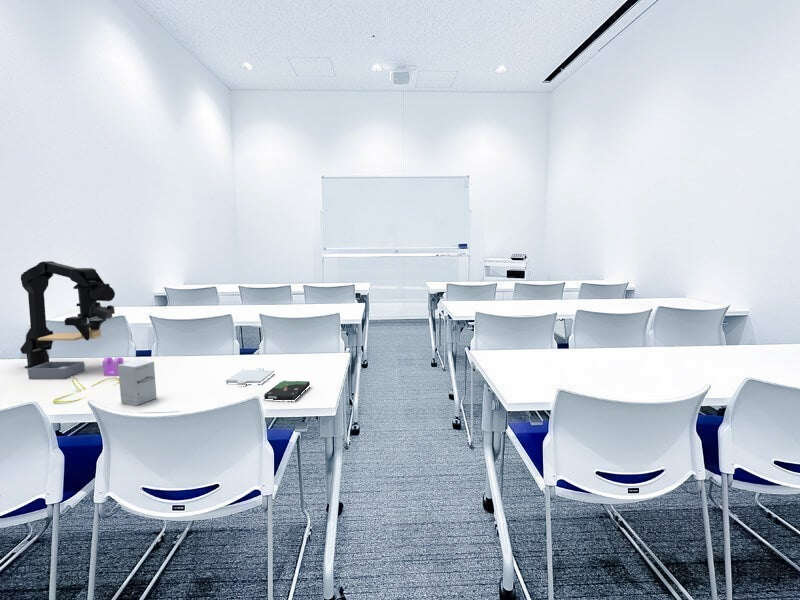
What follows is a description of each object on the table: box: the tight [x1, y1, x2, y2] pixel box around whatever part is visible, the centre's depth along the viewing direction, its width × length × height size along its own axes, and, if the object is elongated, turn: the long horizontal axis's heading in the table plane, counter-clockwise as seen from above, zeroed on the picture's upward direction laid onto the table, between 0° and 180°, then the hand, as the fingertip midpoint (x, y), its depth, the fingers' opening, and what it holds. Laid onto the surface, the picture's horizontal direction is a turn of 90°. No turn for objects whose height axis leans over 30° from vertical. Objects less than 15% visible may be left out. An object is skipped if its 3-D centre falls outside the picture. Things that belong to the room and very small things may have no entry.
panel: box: [27, 361, 86, 380], centre depth 168 cm, size 14×10×4 cm
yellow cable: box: [52, 377, 120, 403], centre depth 151 cm, size 25×10×5 cm, turn 173°
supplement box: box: [118, 359, 157, 407], centre depth 140 cm, size 7×7×13 cm
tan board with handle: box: [38, 329, 102, 342], centre depth 173 cm, size 20×11×3 cm, turn 89°
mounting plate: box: [225, 367, 275, 386], centre depth 163 cm, size 18×13×2 cm
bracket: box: [102, 357, 124, 377], centre depth 173 cm, size 13×6×7 cm, turn 176°
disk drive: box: [263, 380, 311, 400], centre depth 147 cm, size 10×3×15 cm
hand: (91, 339), depth 173 cm, fingers closed on tan board with handle, 4 cm apart
